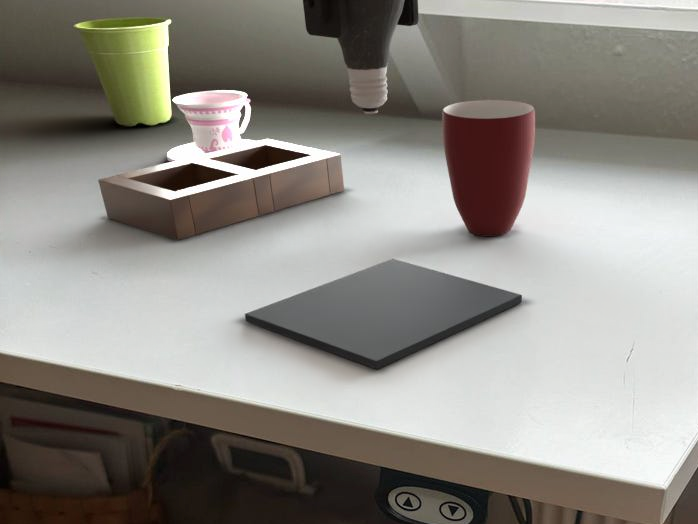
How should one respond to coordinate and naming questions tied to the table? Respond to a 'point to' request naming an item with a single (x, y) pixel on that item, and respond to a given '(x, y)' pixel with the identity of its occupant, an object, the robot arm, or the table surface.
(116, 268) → the table surface
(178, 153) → the teacup
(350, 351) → the mat
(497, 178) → the mug
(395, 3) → the light bulb
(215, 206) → the wooden divided tray
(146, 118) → the plant pot
